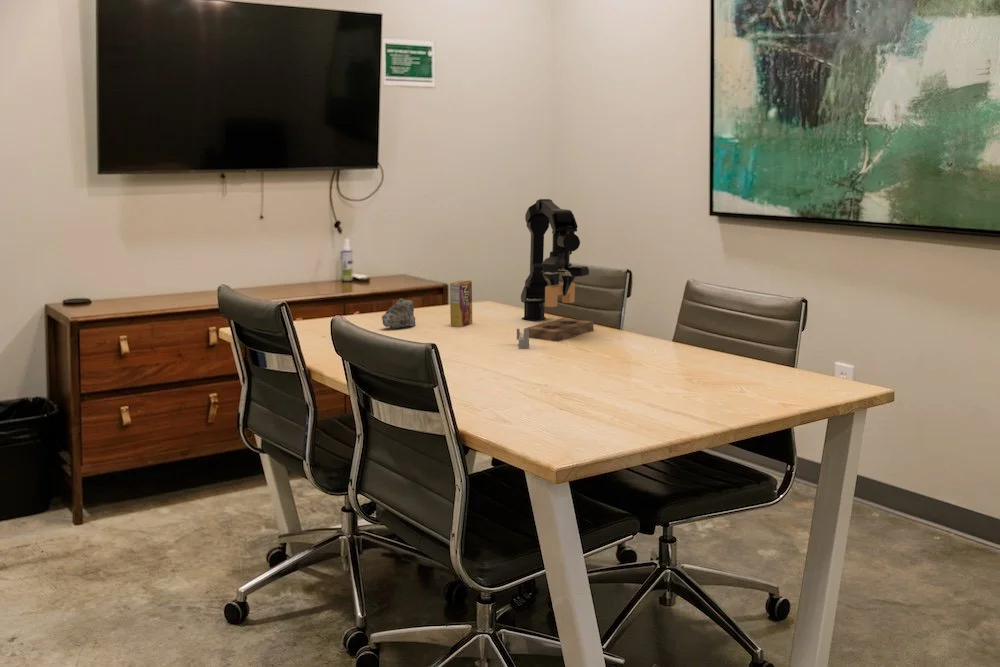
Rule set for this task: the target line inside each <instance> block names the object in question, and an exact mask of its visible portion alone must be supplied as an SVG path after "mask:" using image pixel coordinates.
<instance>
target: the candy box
mask: <svg viewBox="0 0 1000 667" xmlns="http://www.w3.org/2000/svg"><path fill="white" fill-rule="evenodd" d="M472 281H473V280H470V279H468V280H466V279H461V280H458V281H454V282H450V283H449V303H450V305H449V306H450V307H449V308H450V310H449V311H450V313H449V314H450V327H453V328H454V327H456V328H462V327H464V326H468V325H471V324H473V290H472V289H473V287H472V286H473V285H472V283H473V282H472Z"/></svg>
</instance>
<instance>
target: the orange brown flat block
mask: <svg viewBox="0 0 1000 667" xmlns="http://www.w3.org/2000/svg"><path fill="white" fill-rule="evenodd" d="M558 296H562V300H561V302H562V303H565V304H572V303H575V296H576V283H575V282H572V283H571V285H570V287H569V289H568V292H567V294H566V296H563V282H562V283H559V284H556V285H551V284H550V285H547V286H546V287H545V303H544V307H546V308H547V307H548V308H555V307H558V302H559V301H558V299H559V298H558Z"/></svg>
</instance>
